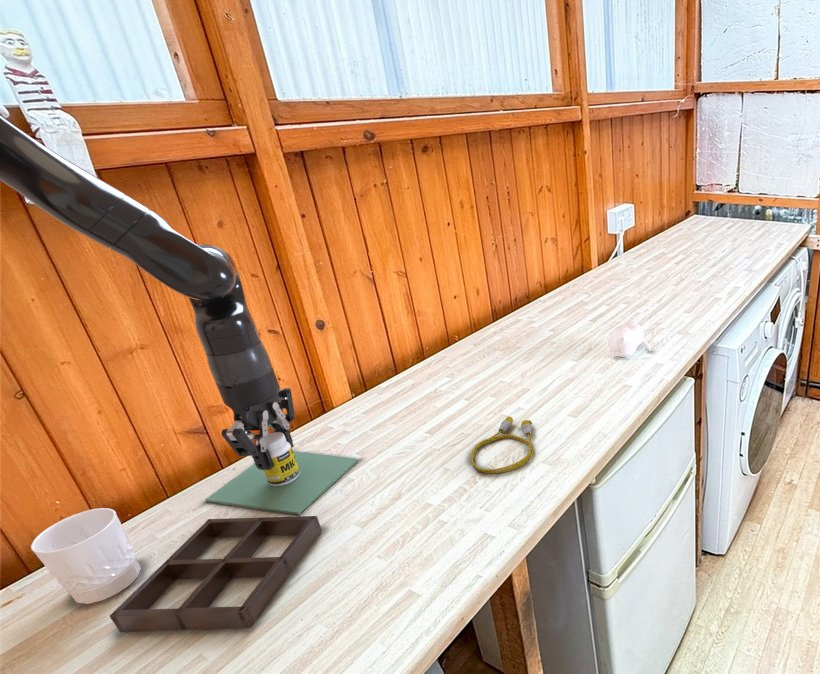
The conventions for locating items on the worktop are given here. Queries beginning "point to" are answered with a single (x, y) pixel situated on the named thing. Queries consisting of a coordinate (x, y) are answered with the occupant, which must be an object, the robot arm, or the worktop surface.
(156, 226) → the robot arm
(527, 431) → the extension cord
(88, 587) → the white cup
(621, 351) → the cat figurine
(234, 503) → the drying mat
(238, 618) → the brown compartment tray
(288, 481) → the supplement bottle
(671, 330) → the worktop surface
